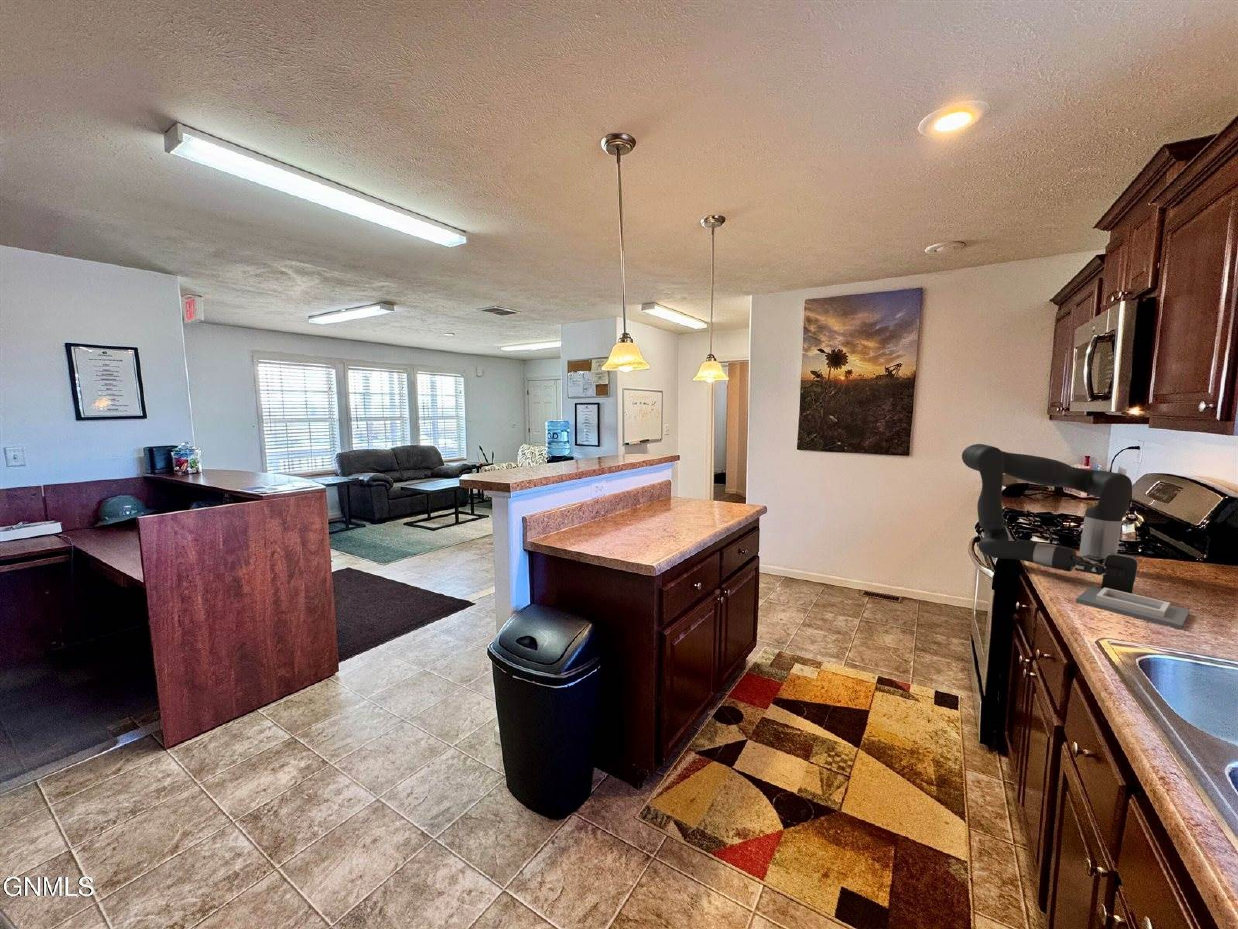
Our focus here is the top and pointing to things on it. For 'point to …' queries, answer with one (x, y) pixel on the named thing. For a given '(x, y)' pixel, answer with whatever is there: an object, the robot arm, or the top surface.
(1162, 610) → the holder
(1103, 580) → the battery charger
